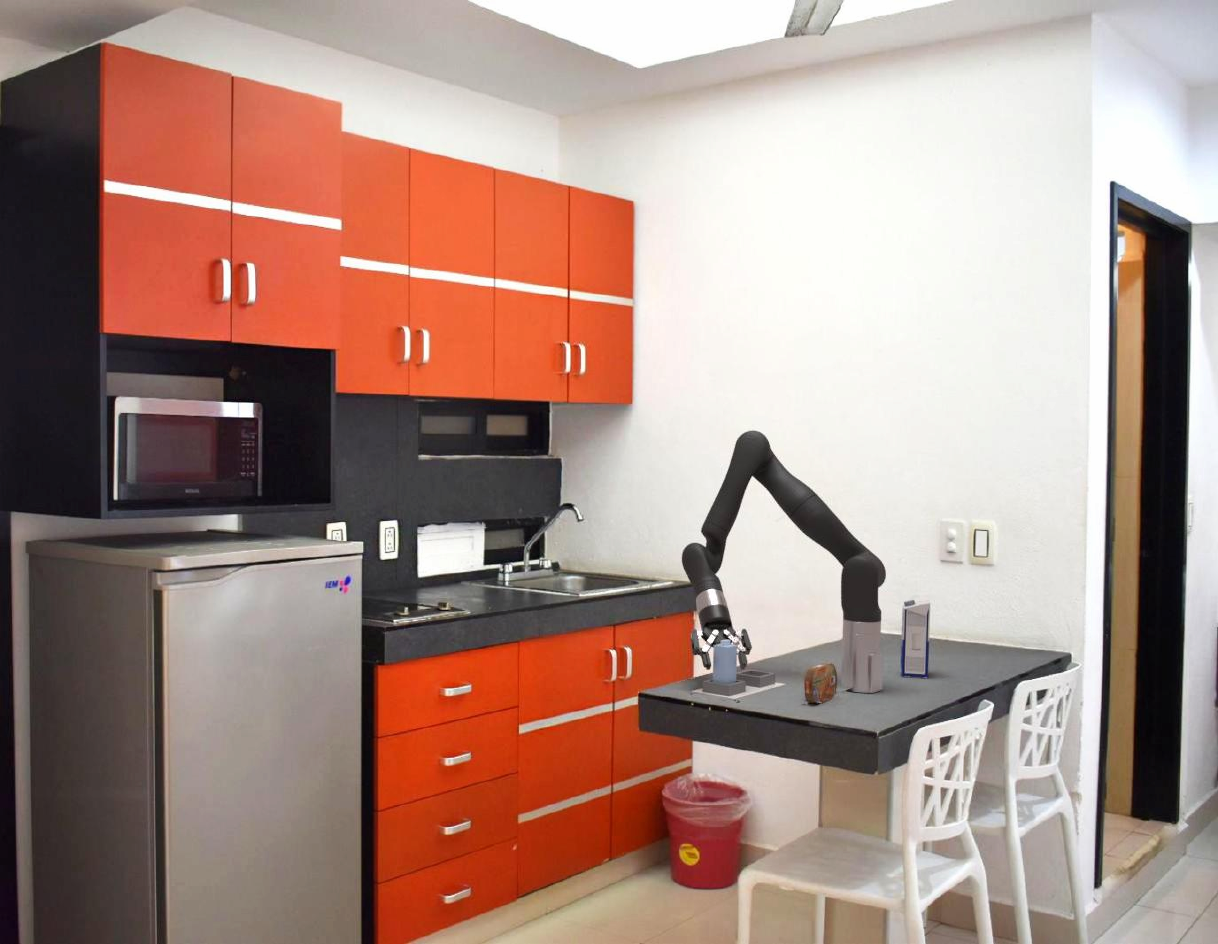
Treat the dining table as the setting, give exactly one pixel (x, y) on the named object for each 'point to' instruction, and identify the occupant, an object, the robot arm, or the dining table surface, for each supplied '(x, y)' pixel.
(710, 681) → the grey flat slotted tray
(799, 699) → the dining table surface
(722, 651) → the plug
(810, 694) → the tin
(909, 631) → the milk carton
